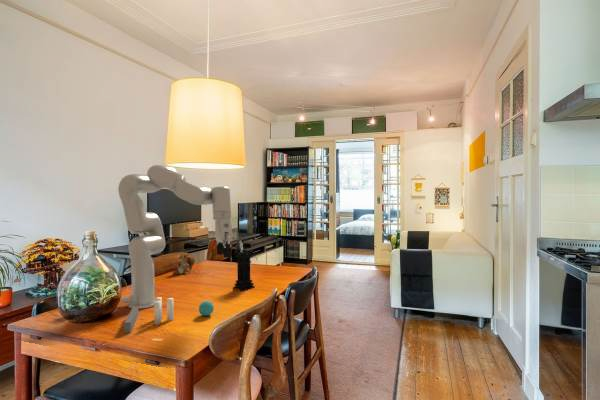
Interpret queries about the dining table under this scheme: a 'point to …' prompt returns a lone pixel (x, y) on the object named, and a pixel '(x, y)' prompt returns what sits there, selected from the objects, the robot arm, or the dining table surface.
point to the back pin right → (157, 312)
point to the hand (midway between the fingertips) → (224, 255)
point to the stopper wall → (131, 320)
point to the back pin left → (161, 303)
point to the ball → (206, 308)
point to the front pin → (170, 309)
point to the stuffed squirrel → (184, 264)
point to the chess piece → (243, 270)
